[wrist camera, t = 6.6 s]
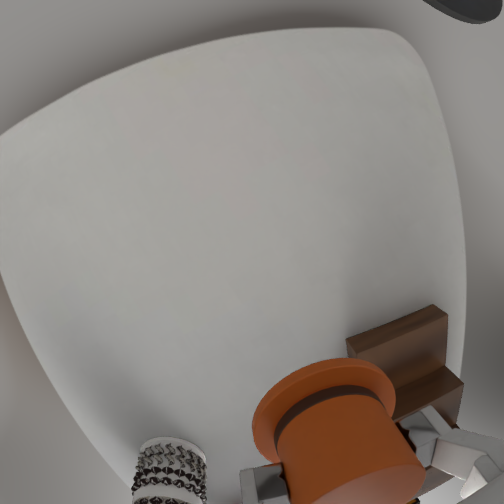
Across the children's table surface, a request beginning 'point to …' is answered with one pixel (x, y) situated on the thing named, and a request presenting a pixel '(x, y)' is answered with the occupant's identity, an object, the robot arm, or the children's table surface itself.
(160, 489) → the decorative candle
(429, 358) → the stand
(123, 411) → the children's table surface
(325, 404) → the hat
